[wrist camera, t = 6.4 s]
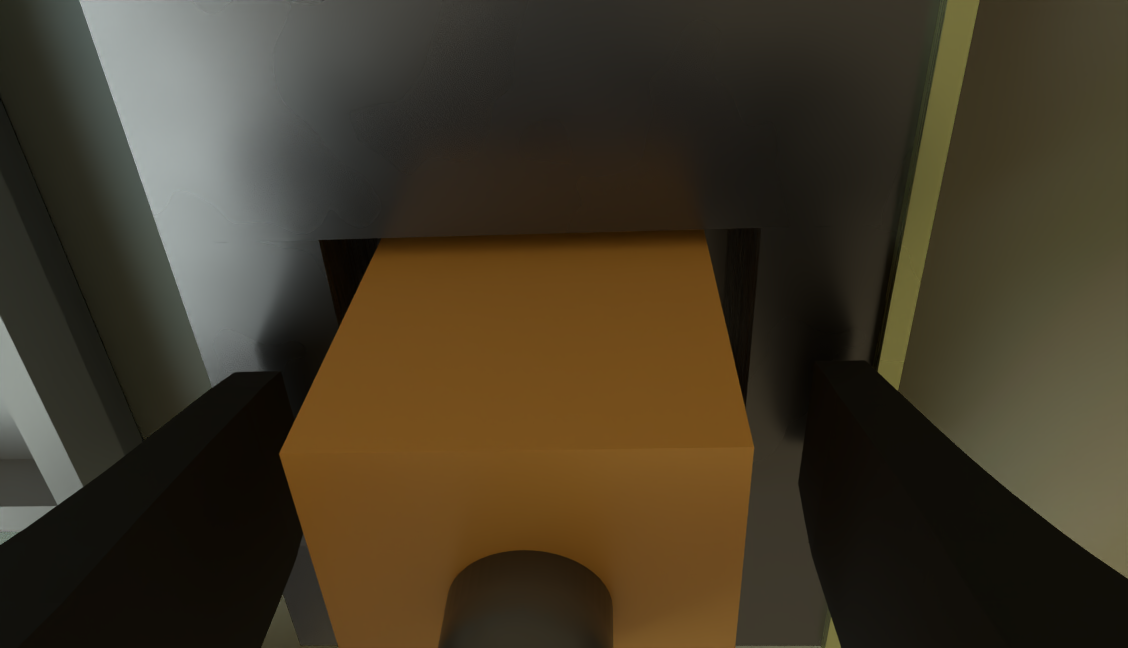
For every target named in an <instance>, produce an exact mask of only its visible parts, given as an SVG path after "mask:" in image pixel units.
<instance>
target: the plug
mask: <svg viewBox="0 0 1128 648" xmlns="http://www.w3.org/2000/svg"><path fill="white" fill-rule="evenodd" d="M753 454H754V444H753V440H752V436H751V431H750V427H749V423H748V418H747V414H746V410H745V405H744V401H743V397H742V392H741V388H740V384H739V379H738V375H737V371H736V366H735V362H734V358H733V353H732V349H731V345H730V340H729V336H728V332H727V327H726V323H725V319H724V314H723V310H722V306H721V301H720V297H719V293H718V288H717V284H716V280H715V275H714V271H713V267H712V263H711V258H710V254H709V250H708V245H707V241H706V237H705V232H704V229H700V230H664V231H627V232H590V233H554V234H517V235H481V236H444V237H407V238H381V240H380V243H379V245H378V247H377V249H376V251H375V253H374V255H373V257H372V259H371V261H370V264H369V266H368V268H367V270H366V272H365V274H364V276H363V278H362V280H361V282H360V285H359V287H358V289H357V291H356V293H355V295H354V297H353V299H352V301H351V303H350V306H349V308H348V310H347V312H346V314H345V316H344V318H343V320H342V322H341V325H340V327H339V329H338V331H337V333H336V335H335V337H334V339H333V341H332V343H331V346H330V348H329V350H328V352H327V354H326V356H325V358H324V360H323V362H322V364H321V367H320V369H319V371H318V373H317V375H316V377H315V379H314V381H313V383H312V385H311V388H310V390H309V392H308V394H307V396H306V398H305V400H304V402H303V404H302V406H301V409H300V411H299V413H298V415H297V417H296V419H295V421H294V423H293V425H292V428H291V430H290V432H289V434H288V436H287V438H286V440H285V442H284V444H283V446H282V449H281V451H280V453H279V455H280V459H281V462H282V465H283V468H284V472H285V475H286V478H287V481H288V485H289V488H290V491H291V494H292V498H293V501H294V504H295V507H296V511H297V514H298V517H299V520H300V524H301V527H302V530H303V533H304V537H305V540H306V543H307V546H308V550H309V553H310V556H311V559H312V563H313V566H314V569H315V572H316V576H317V579H318V582H319V586H320V589H321V592H322V595H323V599H324V602H325V605H326V608H327V612H328V615H329V618H330V621H331V625H332V628H333V631H334V634H335V638H336V641H337V644H338V647H339V648H735V644H736V633H737V623H738V612H739V602H740V591H741V581H742V570H743V560H744V549H745V538H746V528H747V517H748V507H749V496H750V486H751V475H752V465H753Z"/></svg>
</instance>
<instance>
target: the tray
mask: <svg viewBox="0 0 1128 648" xmlns="http://www.w3.org/2000/svg"><path fill="white" fill-rule="evenodd" d="M142 442H143V440H142V438H141V435H140V433H139V431H138V428H137V426H136V423H135V421H134V419H133V416H132V414H131V411H130V409H129V407H128V404H127V402H126V399H125V397H124V395H123V392H122V390H121V387H120V385H119V383H118V380H117V378H116V375H115V373H114V371H113V368H112V366H111V363H110V361H109V359H108V356H107V354H106V351H105V349H104V347H103V344H102V342H101V339H100V337H99V335H98V332H97V330H96V327H95V325H94V323H93V320H92V318H91V315H90V313H89V311H88V308H87V306H86V303H85V301H84V299H83V296H82V294H81V291H80V289H79V287H78V284H77V282H76V279H75V277H74V275H73V272H72V270H71V267H70V265H69V263H68V260H67V258H66V255H65V253H64V251H63V248H62V246H61V243H60V241H59V239H58V236H57V234H56V231H55V229H54V227H53V224H52V222H51V219H50V217H49V215H48V212H47V210H46V207H45V205H44V203H43V200H42V198H41V195H40V193H39V191H38V188H37V186H36V183H35V181H34V179H33V176H32V174H31V171H30V169H29V167H28V164H27V162H26V159H25V157H24V155H23V152H22V150H21V147H20V145H19V143H18V140H17V138H16V135H15V133H14V131H13V128H12V126H11V123H10V121H9V119H8V116H7V114H6V111H5V109H4V107H3V104H2V102H1V99H0V532H21V531H22V530H24V529H25V528H27V527H28V526H29V525H31V524H32V523H34V522H35V521H36V520H38V519H39V518H41V517H42V516H43V515H45V514H46V513H47V512H49V511H50V510H52V509H53V508H54V507H56V506H57V505H59V504H60V503H61V502H63V501H64V500H66V499H67V498H68V497H70V496H71V495H73V494H74V493H75V492H77V491H78V490H80V489H81V488H82V487H84V486H85V485H86V484H88V483H89V482H91V481H92V480H93V479H95V478H96V477H98V476H99V475H100V474H102V473H103V472H104V471H106V470H107V469H108V468H110V467H111V466H112V465H114V464H115V463H116V462H117V461H119V460H120V459H121V458H123V457H124V456H125V455H126V454H128V453H129V452H130V451H132V450H133V449H134V448H135V447H137V446H138V445H139V444H141V443H142Z"/></svg>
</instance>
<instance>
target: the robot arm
mask: <svg viewBox="0 0 1128 648" xmlns="http://www.w3.org/2000/svg"><path fill="white" fill-rule="evenodd" d="M294 421H295V419H294V416H293V412H292V409H291V405H290V402H289V398H288V395H287V391H286V388H285V384H284V381H283V377H282V374H281V371H255V372H234V373H233V374H231V375H230V376H228V377H227V378H225V379H224V380H222V381H221V382H219V383H218V384H217V385H215V386H214V387H213V388H211V389H210V390H209V391H207V392H206V393H205V394H203V395H202V396H201V397H200V398H198V399H197V400H196V401H194V402H193V403H192V404H190V405H189V406H188V407H187V408H185V409H184V410H183V411H182V412H180V413H179V414H178V415H176V416H175V417H174V418H173V419H171V420H170V421H169V422H168V423H166V424H165V425H164V426H162V427H161V428H160V429H159V430H157V431H156V432H155V433H154V434H152V435H151V436H150V437H148V438H147V439H146V440H145V441H143V442H142V443H141V444H139V445H138V446H137V447H135V448H134V449H133V450H132V451H130V452H129V453H128V454H126V455H125V456H124V457H123V458H121V459H120V460H119V461H117V462H116V463H115V464H114V465H112V466H111V467H110V468H108V469H107V470H106V471H104V472H103V473H102V474H100V475H99V476H98V477H96V478H95V479H93V480H92V481H91V482H89V483H88V484H86V485H85V486H84V487H82V488H81V489H80V490H78V491H77V492H75V493H74V494H73V495H71V496H70V497H68V498H67V499H66V500H64V501H63V502H61V503H60V504H59V505H57V506H56V507H54V508H53V509H52V510H50V511H49V512H47V513H46V514H45V515H43V516H42V517H41V518H39V519H38V520H36V521H35V522H34V523H32V524H31V525H29V526H28V527H27V528H25V529H24V530H22V531H21V532H19V533H18V534H16V535H15V536H13V537H12V538H10V539H9V540H7V541H6V542H4V543H3V544H1V545H0V648H261V646H262V643H263V641H264V639H265V636H266V634H267V631H268V629H269V626H270V624H271V621H272V619H273V617H274V614H275V612H276V609H277V607H278V604H279V602H280V599H281V596H282V594H283V591H284V589H285V586H286V584H287V581H288V579H289V576H290V574H291V571H292V569H293V566H294V563H295V561H296V558H297V554H298V551H299V547H300V543H301V540H302V536H303V530H302V527H301V524H300V520H299V517H298V514H297V511H296V507H295V504H294V501H293V498H292V494H291V491H290V488H289V485H288V481H287V478H286V475H285V472H284V468H283V465H282V462H281V459H280V455H279V453H280V451H281V449H282V446H283V444H284V442H285V440H286V438H287V436H288V434H289V432H290V430H291V428H292V425H293V423H294ZM798 486H799V492H800V497H801V503H802V508H803V514H804V520H805V525H806V530H807V535H808V540H809V545H810V550H811V555H812V558H813V561H814V565H815V568H816V571H817V574H818V577H819V581H820V584H821V587H822V590H823V593H824V596H825V599H826V602H827V606H828V609H829V612H830V615H831V618H832V621H833V624H834V627H835V630H836V633H837V636H838V639H839V642H840V645H841V648H1128V579H1127V578H1126V577H1124V576H1123V575H1121V574H1120V573H1118V572H1117V571H1116V570H1114V569H1113V568H1111V567H1110V566H1108V565H1107V564H1105V563H1104V562H1102V561H1101V560H1099V559H1098V558H1097V557H1095V556H1094V555H1092V554H1091V553H1089V552H1088V551H1087V550H1085V549H1084V548H1082V547H1081V546H1080V545H1078V544H1077V543H1076V542H1074V541H1073V540H1072V539H1070V538H1069V537H1067V536H1066V535H1065V534H1063V533H1062V532H1061V531H1059V530H1058V529H1057V528H1055V527H1054V526H1053V525H1052V524H1050V523H1049V522H1048V521H1047V520H1045V519H1044V518H1043V517H1042V516H1040V515H1039V514H1038V513H1036V512H1035V511H1034V510H1033V509H1031V508H1030V507H1029V506H1028V505H1026V504H1025V503H1024V502H1023V501H1021V500H1020V499H1019V498H1017V497H1016V496H1015V495H1014V494H1012V493H1011V492H1010V491H1009V490H1008V489H1006V488H1005V487H1004V486H1003V485H1002V484H1000V483H999V482H998V481H997V480H996V479H994V478H993V477H992V476H991V475H990V474H988V473H987V472H986V471H985V470H984V469H983V468H981V467H980V466H979V465H978V464H977V463H976V462H975V461H973V460H972V459H971V458H970V457H969V456H968V455H967V454H965V453H964V452H963V451H962V450H961V449H960V448H959V447H958V446H956V445H955V444H954V443H953V442H952V441H951V440H950V439H949V438H948V437H946V436H945V435H944V434H943V433H942V432H941V431H940V430H939V429H938V428H937V427H935V426H934V425H933V424H932V423H931V422H930V421H929V420H928V419H927V418H926V417H925V416H924V415H923V414H922V413H921V412H919V411H918V410H917V409H916V408H915V407H914V406H913V405H912V404H911V403H910V402H909V401H908V400H907V399H906V398H905V397H904V396H903V395H901V394H900V393H899V392H898V391H897V390H896V389H895V388H894V387H893V386H892V385H891V384H890V383H889V382H888V381H887V380H886V379H885V378H884V377H883V376H882V375H880V374H879V373H878V372H877V371H876V370H875V369H874V368H873V367H872V366H871V365H870V364H869V363H867V362H866V361H865V360H851V361H815V364H814V371H813V378H812V385H811V393H810V400H809V407H808V414H807V422H806V429H805V436H804V443H803V451H802V458H801V465H800V472H799V479H798Z"/></svg>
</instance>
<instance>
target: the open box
mask: <svg viewBox="0 0 1128 648" xmlns="http://www.w3.org/2000/svg"><path fill="white" fill-rule="evenodd" d="M79 1H80V4H81V7H82V10H83V12H84V15H85V18H86V21H87V24H88V27H89V30H90V33H91V36H92V39H93V42H94V45H95V47H96V50H97V53H98V56H99V59H100V62H101V65H102V68H103V71H104V74H105V77H106V80H107V82H108V85H109V88H110V91H111V94H112V97H113V100H114V103H115V106H116V109H117V112H118V115H119V117H120V120H121V123H122V126H123V129H124V132H125V135H126V138H127V141H128V144H129V147H130V149H131V152H132V155H133V158H134V161H135V164H136V167H137V170H138V173H139V176H140V179H141V182H142V184H143V187H144V190H145V193H146V196H147V199H148V202H149V205H150V208H151V211H152V214H153V217H154V219H155V222H156V225H157V228H158V231H159V234H160V237H161V240H162V243H163V246H164V249H165V251H166V254H167V257H168V260H169V263H170V266H171V269H172V272H173V275H174V278H175V281H176V284H177V286H178V289H179V292H180V295H181V298H182V301H183V304H184V307H185V310H186V313H187V316H188V319H189V321H190V324H191V327H192V330H193V333H194V336H195V339H196V342H197V345H198V348H199V351H200V354H201V356H202V359H203V362H204V365H205V368H206V371H207V374H208V377H209V380H210V383H211V386H212V388H213V387H214V386H215V385H217V384H218V383H219V382H221V381H222V380H224V379H225V378H227V377H228V376H230V375H231V374H233V373H234V372H255V371H281V374H282V377H283V381H284V384H285V388H286V391H287V395H288V398H289V402H290V405H291V409H292V412H293V416H294V419H296V417H297V415H298V413H299V411H300V409H301V406H302V404H303V402H304V400H305V398H306V396H307V394H308V392H309V390H310V388H311V385H312V383H313V381H314V379H315V377H316V375H317V373H318V371H319V369H320V367H321V364H322V362H323V360H324V358H325V356H326V354H327V352H328V350H329V348H330V346H331V343H332V341H333V339H334V337H335V335H336V333H337V331H338V329H339V327H340V325H341V322H342V320H343V318H344V316H345V314H346V312H347V310H348V308H349V306H350V303H351V301H352V299H353V297H354V295H355V293H356V291H357V289H358V287H359V285H360V282H361V280H362V278H363V276H364V274H365V272H366V270H367V268H368V266H369V264H370V261H371V259H372V257H373V255H374V253H375V251H376V249H377V247H378V245H379V243H380V240H381V238H407V237H444V236H481V235H517V234H554V233H590V232H627V231H664V230H700V229H704V232H705V237H706V241H707V245H708V250H709V254H710V258H711V263H712V267H713V271H714V275H715V280H716V284H717V288H718V293H719V297H720V301H721V306H722V310H723V314H724V319H725V323H726V327H727V332H728V336H729V340H730V345H731V349H732V353H733V358H734V362H735V366H736V371H737V375H738V379H739V384H740V388H741V392H742V397H743V401H744V405H745V410H746V414H747V418H748V423H749V427H750V431H751V436H752V440H753V444H754V454H753V465H752V475H751V486H750V496H749V507H748V517H747V528H746V538H745V549H744V560H743V570H742V581H741V591H740V602H739V612H738V623H737V633H736V644H735V646H821V647H822V648H841V645H840V642H839V639H838V636H837V633H836V630H835V627H834V624H833V621H832V618H831V615H830V612H829V609H828V606H827V602H826V599H825V596H824V593H823V590H822V587H821V584H820V581H819V577H818V574H817V571H816V568H815V565H814V561H813V558H812V555H811V550H810V545H809V540H808V535H807V530H806V525H805V520H804V514H803V508H802V503H801V497H800V492H799V486H798V479H799V472H800V465H801V458H802V451H803V443H804V436H805V429H806V422H807V414H808V407H809V400H810V393H811V385H812V378H813V371H814V364H815V361H851V360H865V361H866V362H867V363H869V364H870V365H871V366H872V367H873V368H874V369H875V370H876V371H877V372H878V373H879V374H880V375H882V376H883V377H884V378H885V379H886V380H887V381H888V382H889V383H890V384H891V385H892V386H893V387H894V388H895V389H896V390H897V391H898V389H899V384H900V379H901V375H902V370H903V365H904V360H905V355H906V351H907V346H908V341H909V336H910V331H911V327H912V322H913V317H914V312H915V307H916V303H917V298H918V293H919V288H920V283H921V279H922V274H923V269H924V264H925V259H926V255H927V250H928V245H929V240H930V235H931V231H932V226H933V221H934V216H935V212H936V207H937V202H938V197H939V192H940V188H941V183H942V178H943V173H944V168H945V164H946V159H947V154H948V149H949V144H950V140H951V135H952V130H953V125H954V120H955V116H956V111H957V106H958V101H959V96H960V92H961V87H962V82H963V77H964V72H965V68H966V63H967V58H968V53H969V48H970V44H971V39H972V34H973V29H974V25H975V20H976V15H977V10H978V5H979V1H980V0H79ZM283 595H284V598H285V601H286V604H287V607H288V610H289V613H290V616H291V619H292V622H293V625H294V628H295V630H296V633H297V636H298V639H299V642H300V645H338V644H337V641H336V638H335V634H334V631H333V628H332V625H331V621H330V618H329V615H328V612H327V608H326V605H325V602H324V599H323V595H322V592H321V589H320V586H319V582H318V579H317V576H316V572H315V569H314V566H313V563H312V559H311V556H310V553H309V550H308V546H307V543H306V540H305V537H304V533H303V536H302V540H301V543H300V547H299V551H298V554H297V558H296V561H295V563H294V566H293V569H292V571H291V574H290V576H289V579H288V581H287V584H286V586H285V589H284V591H283Z"/></svg>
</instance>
